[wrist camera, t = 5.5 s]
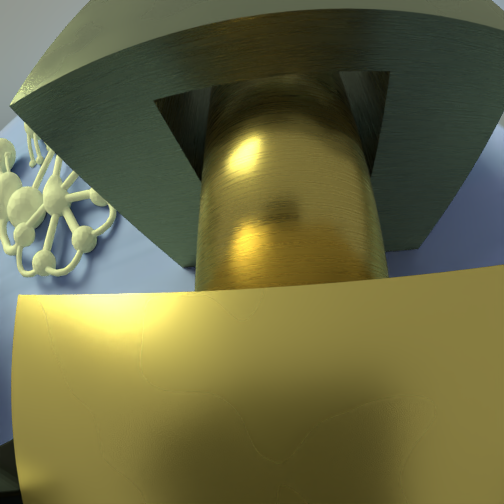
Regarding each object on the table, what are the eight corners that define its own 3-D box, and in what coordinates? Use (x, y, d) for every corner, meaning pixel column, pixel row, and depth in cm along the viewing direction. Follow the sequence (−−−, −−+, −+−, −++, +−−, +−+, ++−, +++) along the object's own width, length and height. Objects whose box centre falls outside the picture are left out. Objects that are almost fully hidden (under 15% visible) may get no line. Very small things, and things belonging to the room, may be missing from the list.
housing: (418, 248, 14) (533, 40, 3) (182, 267, 16) (9, 106, 5) (376, 105, 18) (387, -67, 7) (196, 124, 20) (121, -29, 9)
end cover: (374, 415, 12) (547, 523, 1) (237, 421, 13) (26, 517, 2) (352, 189, 16) (367, -37, 5) (237, 200, 17) (143, -5, 6)
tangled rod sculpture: (184, 197, 20) (163, 156, 16) (27, 331, 17) (-15, 316, 13) (93, 90, 27) (77, 62, 23) (-9, 177, 24) (-31, 156, 20)
